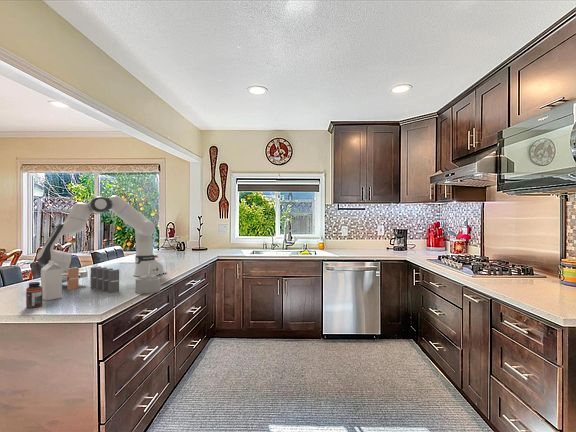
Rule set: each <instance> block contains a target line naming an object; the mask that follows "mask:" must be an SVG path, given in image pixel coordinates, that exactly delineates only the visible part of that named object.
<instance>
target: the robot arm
mask: <svg viewBox="0 0 576 432" xmlns="http://www.w3.org/2000/svg"><path fill="white" fill-rule="evenodd" d="M107 211H110V212H113V214H115V216H117V217H118V218H119V219H120V220H122V221H123V222H124V223H126V224H127V225H128V226H130V227H131V228H133V229H134V238H135V246H136V247H135V255H134V258H135V259H134V261H135V265H134V266H135V267H134V271H133V272H134V273H133V276H134V277H140V276H144V275H148V276H149V277H150V276H151V275H155V276H159V274H160V275H164V274H167V273H168V272H167V271H166V270H164V265H163V264H162V263H160V262H159V261H158V260H157V259H158V258H159V256H158V254H154V243H153V242H154V241H153V236H152V235H153V234H154V233H155V231H156V225H155V223H154V222H153V221H151V220H150V219H149V218H147V217H146V216H145V215H144V214H143V213H141V212H140V211H138V210H137V208H135V207H133V206H132V204H130V203H129V202H127V201H126V200H125V199H123V198H122V197H120V196H119V195H116V194H115V195H111V196H109V197H105V196H100V195H98V196H95V197H93V198H90V200H89V201H88V202H86V203H85V202H80V201H79V202H76V203H74V205H72V208H71V209H70V210H69V213H68V215H67V218H66V219H65V220H64V221H63V222H62V223H58V224H57V225H56V227H55V228H54V229H53V231H52V233H51V234H50V235H49V237H48V239H47V240H46V242H45V243H44V245H43V246H42V247H41V248H40V250H39V251H38V253H37V254H36V261H37V263H38V264H39V265H41V266H45V265H47V264H48V263H49V261H53V262H54V264H55V263H57V264H59V266H58V267H60V268H61V269H62V284H63V283H67V280H69V277H68V276H67V268H72V266H73V263H74V258H73V254H72V253H71V252H66V251H62V250H57V249H54V247H55V246H56V244H57V242H59V239H60V238H61V237H62V236H63V235H69V234H77V233H80V232H83V230H84V229H85V228H86V225H87V223H88V221H89V218H90V216H91V215H100V214H103V213H105V212H107ZM88 273H89V272H88V271H87V270H85V269H81V268H79V279H84V278H88ZM163 273H164V274H163Z"/></svg>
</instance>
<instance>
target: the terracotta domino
mask: <svg viewBox="0 0 576 432" xmlns="http://www.w3.org/2000/svg"><path fill="white" fill-rule="evenodd" d="M79 269H80V267H78V266H77V267H75V266H74V267H71V268H67V276H68V277H69V280H67V282H66V283H67V284H66V287H67V288H66V290H67V291H69V290H70V291H71V290H77V289H79V279H80V278H79Z"/></svg>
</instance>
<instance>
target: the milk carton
mask: <svg viewBox="0 0 576 432" xmlns="http://www.w3.org/2000/svg"><path fill="white" fill-rule="evenodd" d="M58 266H59V264H57V263H55V264H54V262H53V261H49V263H48V264H47V265H43V267H41V268H40V286H41V287H42V301H45V302H46V301H53V300H57V299H62V298H63V283H62V269H61V268H60V267H58Z"/></svg>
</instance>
